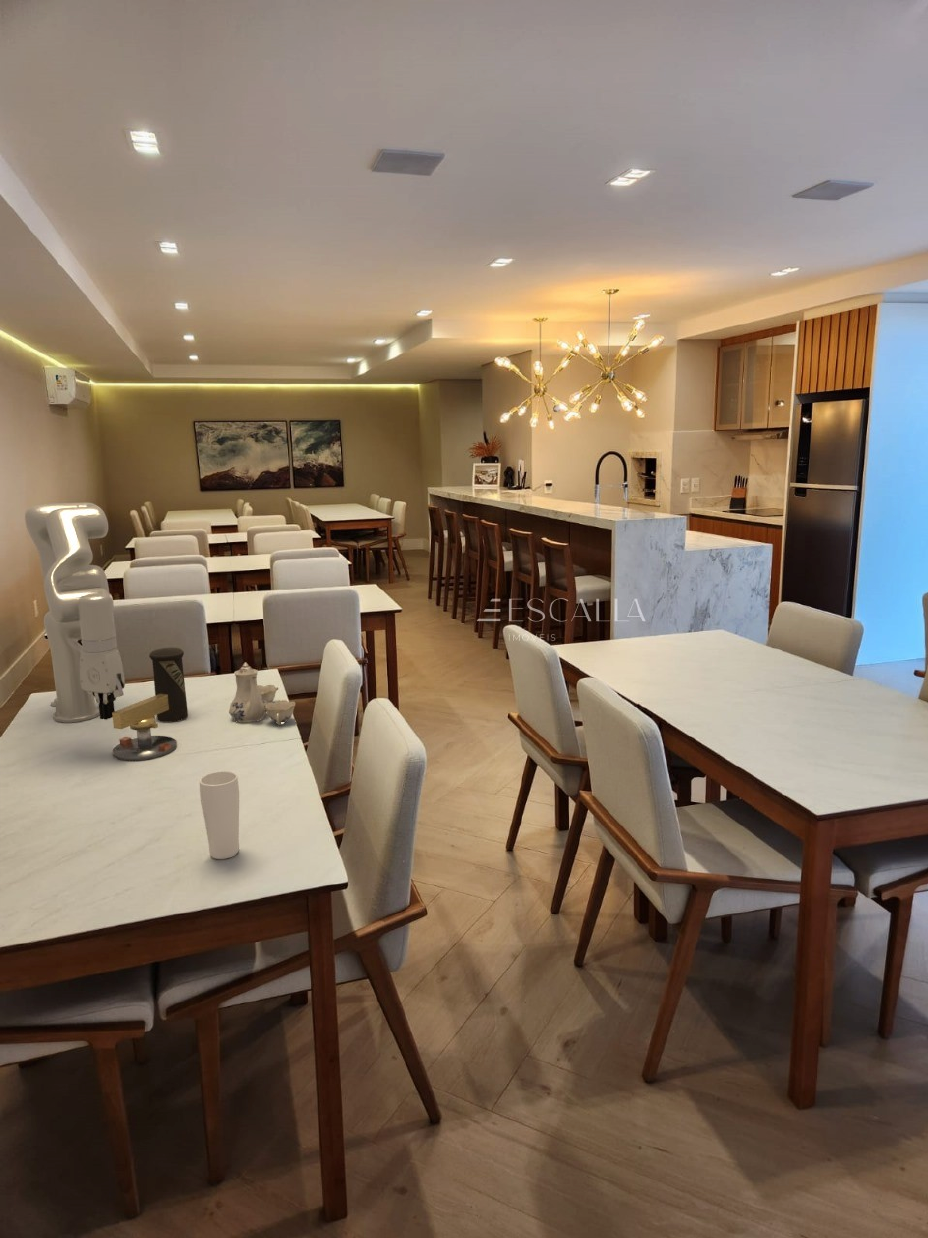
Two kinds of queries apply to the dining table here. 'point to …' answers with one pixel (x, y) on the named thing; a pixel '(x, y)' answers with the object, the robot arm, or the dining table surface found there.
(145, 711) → the gold bar handle
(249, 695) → the chinaware
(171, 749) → the post base
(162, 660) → the container
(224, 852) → the drinking glass
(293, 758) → the dining table surface
